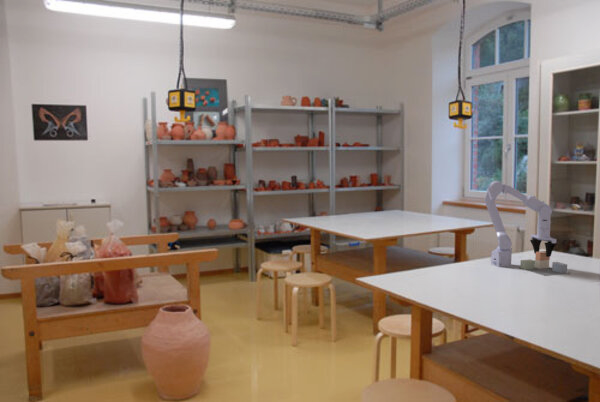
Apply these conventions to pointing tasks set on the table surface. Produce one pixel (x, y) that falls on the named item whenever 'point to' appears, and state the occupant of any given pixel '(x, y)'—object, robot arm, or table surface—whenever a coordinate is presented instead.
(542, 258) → the terracotta brick
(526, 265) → the sage brick
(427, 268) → the table surface
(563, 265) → the bluegrey brick
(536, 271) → the mat
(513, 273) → the table surface
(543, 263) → the cream brick
